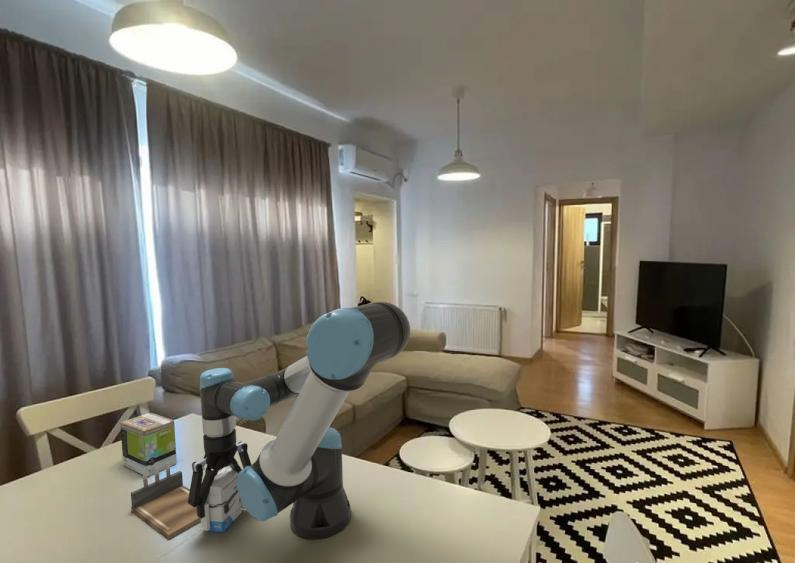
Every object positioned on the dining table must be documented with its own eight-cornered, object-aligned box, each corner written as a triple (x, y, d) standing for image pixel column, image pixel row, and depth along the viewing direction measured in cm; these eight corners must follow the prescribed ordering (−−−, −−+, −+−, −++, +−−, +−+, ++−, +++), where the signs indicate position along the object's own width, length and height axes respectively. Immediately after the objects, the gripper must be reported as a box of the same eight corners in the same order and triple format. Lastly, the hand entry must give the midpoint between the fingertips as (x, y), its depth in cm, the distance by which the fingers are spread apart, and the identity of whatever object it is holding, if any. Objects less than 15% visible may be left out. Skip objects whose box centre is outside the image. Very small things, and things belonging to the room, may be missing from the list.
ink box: (223, 533, 101) (220, 486, 100) (205, 531, 102) (202, 485, 101) (243, 511, 109) (240, 468, 108) (226, 509, 110) (223, 466, 110)
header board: (219, 511, 110) (217, 477, 109) (168, 539, 99) (166, 502, 99) (180, 487, 121) (178, 457, 121) (131, 511, 111) (128, 477, 110)
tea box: (178, 463, 136) (175, 419, 134) (146, 478, 127) (142, 431, 126) (153, 452, 144) (150, 410, 142) (122, 465, 135) (118, 421, 134)
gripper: (248, 413, 115) (253, 491, 117) (166, 444, 97) (172, 536, 99) (266, 419, 111) (270, 499, 112) (183, 453, 93) (189, 548, 94)
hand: (224, 516), depth 106 cm, fingers closed on ink box, 9 cm apart
